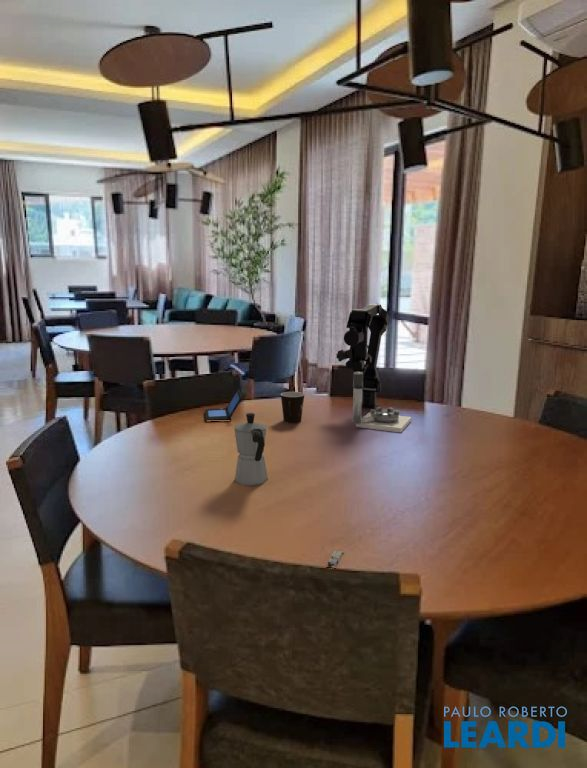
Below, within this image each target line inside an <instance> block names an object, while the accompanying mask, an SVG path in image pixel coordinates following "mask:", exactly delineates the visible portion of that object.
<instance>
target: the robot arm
mask: <svg viewBox="0 0 587 768" xmlns="http://www.w3.org/2000/svg"><path fill="white" fill-rule="evenodd" d="M387 311H388V310H386V309H384V308H383V307H382V304H380V303H369V304H367V305H366V306H364V307H363V308H353V309H352V310H351V312H349V315H348V319H347V322H346V323H347V324H346V328H347V329H348V331H346V332H345V333H344V336H343V340H344V343H345V344H346V345H347V346H349V349H346V350H344V349H341V350H338V351H337V353H336V354H335V355H336V357H335V358H336V359H337V360H338V362H342V361H344V360H347V359H348V360H347V361H346V362H345V364H344V365H345V369H350V370H352V371H353V373H354V372H355V371H360V372H363V388H362V407H366V408H373V409H374V408H376V407H378V405H379V403H378V402H377V393H381V392H382V385H381V384H382V383H381V380H380V375H379V373H378V370H377V364H378V358H379V354H380V353H379V352H380V346H381V342H382V341H381V340H382V336H383V335H384V334H385V332H386V331H387V329H388V326H389V324H390V317H389V313H388V312H387ZM368 330H369V331H370V335H369V333H368ZM368 335H369V338H368ZM368 339H369V341H368Z"/></svg>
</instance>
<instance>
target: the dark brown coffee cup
mask: <svg viewBox="0 0 587 768" xmlns="http://www.w3.org/2000/svg"><path fill="white" fill-rule="evenodd" d="M280 399H281V409H282V417H283V422H284V421H285V423H286V422H288V423H287V424H298V422H299V423H301V422H302V417H303V416H302V415H303V409H304V400H305V393H303V392H300V391H286V392H281V393H280Z"/></svg>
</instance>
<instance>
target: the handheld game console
mask: <svg viewBox="0 0 587 768" xmlns="http://www.w3.org/2000/svg"><path fill="white" fill-rule="evenodd" d="M242 399H243V396H242V394H241V390H240V389H239V388H238V389H237V390H236V391H235V393H234V394H233V397H232V398H231V400H230V401H229V402H228V403H227V404H228V405H226V407H221V408H219V407H217V408H206V410H205V409H204V414H205V415H204V416H206V419H205V421H206V420H231V421H232V416H233V415H234V413H235V411H236V409H237V408H238V407H239V405H240V404H241V402H242Z"/></svg>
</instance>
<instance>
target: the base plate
mask: <svg viewBox="0 0 587 768" xmlns="http://www.w3.org/2000/svg"><path fill="white" fill-rule="evenodd" d="M364 417H371V413H370V412H368V413H367V414H366V415H364V416H363V417H362V418H364ZM411 422H412V417H411V416H405V415H404V416H403V415H399V420H398V421H395V422H378V421H370V422H363V423H360V424H356V425H355V426H356V428H364V429H371V430H377V431H378V430H379V431H387V432H394V433H402V432H403V431H404V430H405V429H406V427H407V426H409V424H411Z"/></svg>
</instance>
